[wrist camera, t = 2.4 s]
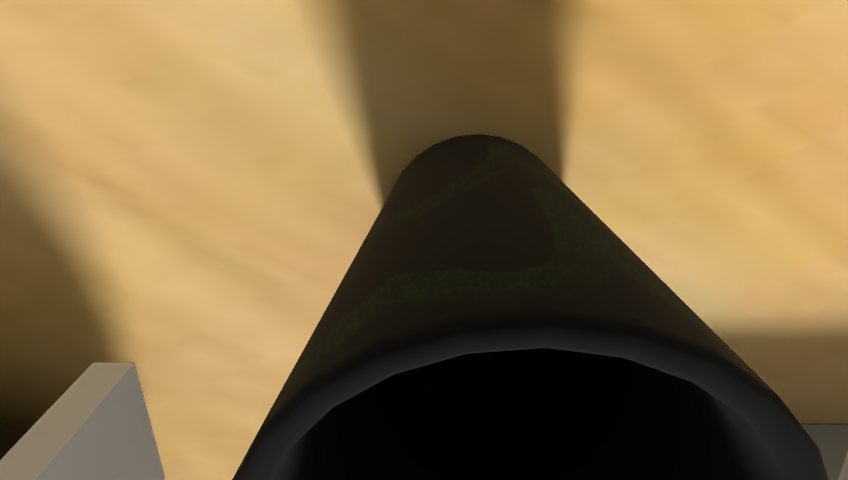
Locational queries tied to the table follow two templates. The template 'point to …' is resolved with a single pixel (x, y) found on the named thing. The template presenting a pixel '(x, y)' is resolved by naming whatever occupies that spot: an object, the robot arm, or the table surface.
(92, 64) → the table surface
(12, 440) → the decorative sphere
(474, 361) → the cup
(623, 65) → the table surface
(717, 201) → the table surface
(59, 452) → the robot arm
